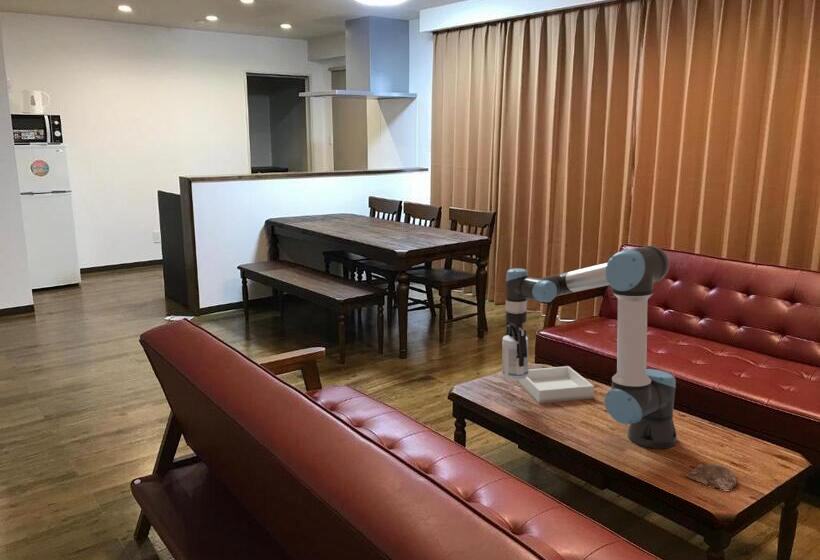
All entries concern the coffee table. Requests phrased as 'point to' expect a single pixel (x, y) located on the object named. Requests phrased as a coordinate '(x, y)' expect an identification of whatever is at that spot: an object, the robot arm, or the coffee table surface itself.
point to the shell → (713, 476)
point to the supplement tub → (512, 358)
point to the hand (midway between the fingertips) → (515, 369)
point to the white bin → (556, 385)
